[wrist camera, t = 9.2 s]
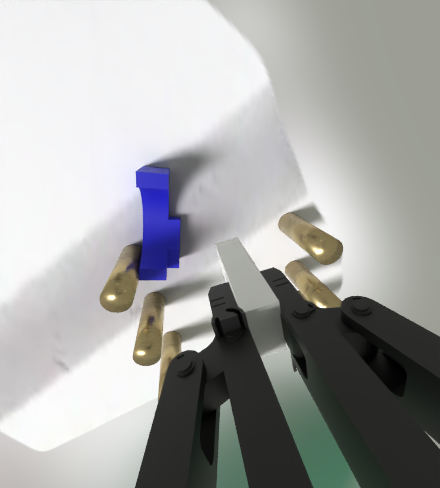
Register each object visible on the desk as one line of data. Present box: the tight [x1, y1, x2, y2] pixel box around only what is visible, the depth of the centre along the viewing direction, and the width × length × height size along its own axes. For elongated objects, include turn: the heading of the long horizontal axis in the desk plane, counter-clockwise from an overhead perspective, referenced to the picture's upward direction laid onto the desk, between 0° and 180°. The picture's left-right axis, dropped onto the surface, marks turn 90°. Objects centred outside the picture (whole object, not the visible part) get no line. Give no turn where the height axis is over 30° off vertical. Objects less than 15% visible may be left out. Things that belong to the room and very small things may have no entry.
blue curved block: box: [136, 166, 180, 280], centre depth 28 cm, size 12×4×6 cm, turn 174°
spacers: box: [100, 213, 343, 401], centre depth 31 cm, size 19×25×10 cm
